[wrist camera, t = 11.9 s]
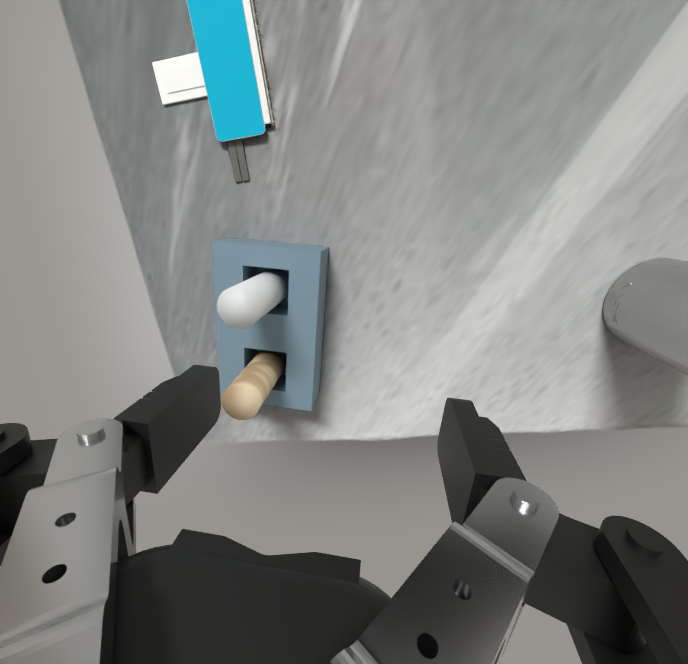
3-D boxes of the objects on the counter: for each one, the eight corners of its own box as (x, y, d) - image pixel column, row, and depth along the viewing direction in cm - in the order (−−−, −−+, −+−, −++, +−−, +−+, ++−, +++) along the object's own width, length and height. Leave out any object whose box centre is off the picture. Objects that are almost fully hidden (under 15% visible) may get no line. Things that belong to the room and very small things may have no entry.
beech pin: (290, 344, 41) (258, 388, 30) (289, 371, 42) (259, 422, 32) (261, 340, 41) (220, 383, 31) (261, 367, 42) (221, 417, 32)
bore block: (328, 247, 37) (304, 260, 26) (319, 390, 43) (296, 451, 32) (233, 238, 38) (170, 246, 27) (236, 379, 44) (186, 435, 33)
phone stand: (130, -39, 32) (117, -52, 30) (250, -72, 30) (243, -88, 28) (188, 190, 38) (180, 189, 36) (290, 174, 36) (286, 172, 34)
